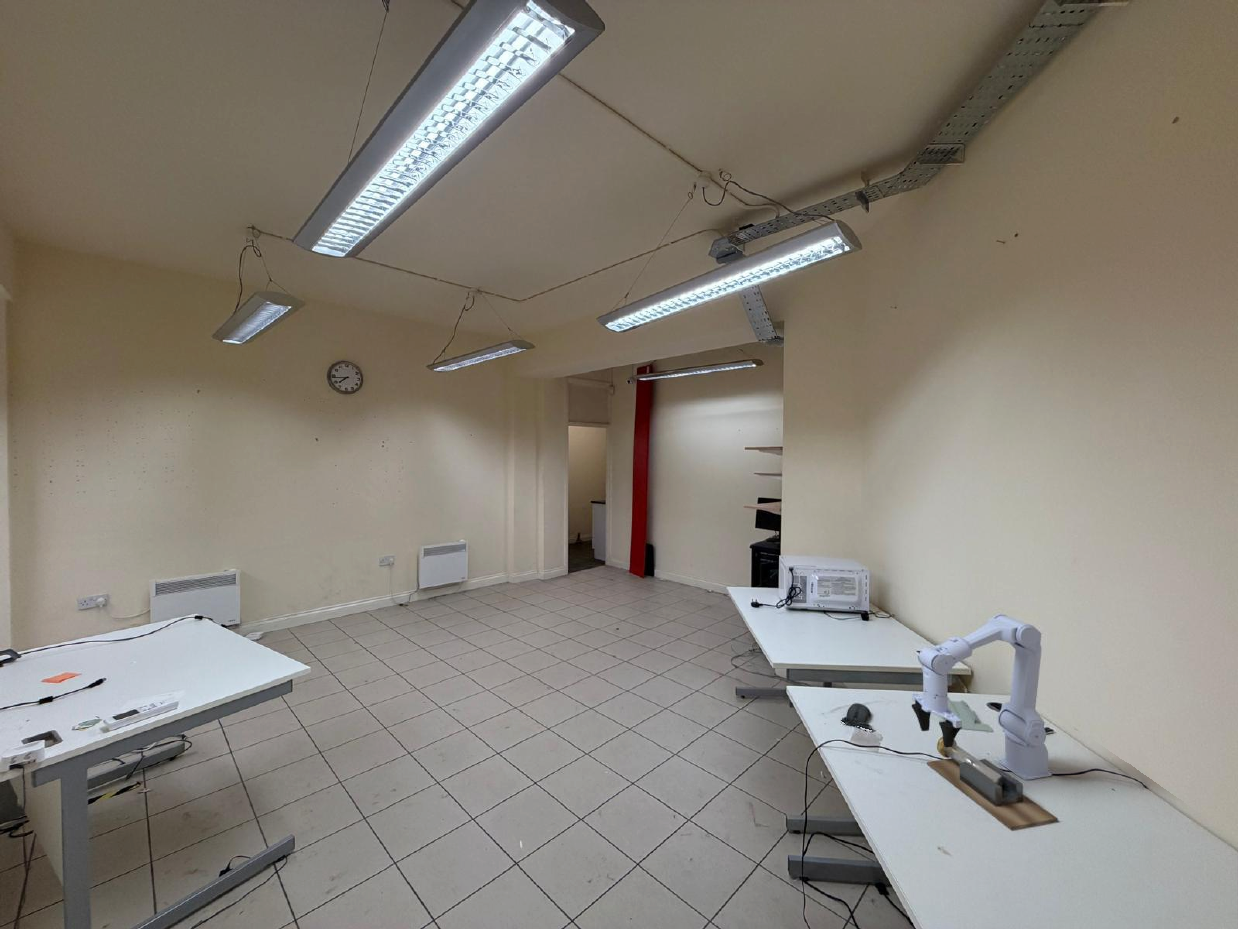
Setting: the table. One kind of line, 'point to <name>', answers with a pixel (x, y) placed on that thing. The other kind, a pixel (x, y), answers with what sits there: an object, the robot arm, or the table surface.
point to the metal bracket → (967, 716)
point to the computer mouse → (858, 716)
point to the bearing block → (992, 785)
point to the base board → (1006, 814)
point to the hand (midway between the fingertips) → (936, 738)
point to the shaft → (968, 760)
